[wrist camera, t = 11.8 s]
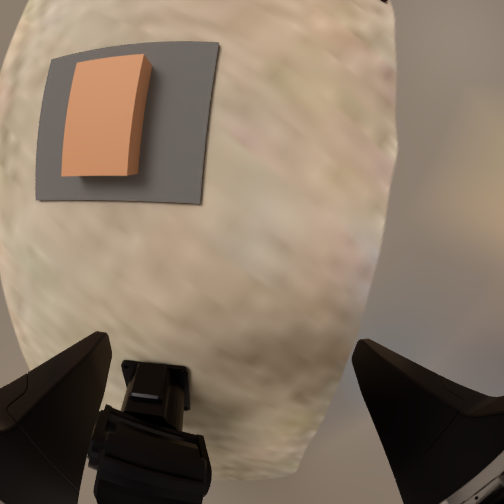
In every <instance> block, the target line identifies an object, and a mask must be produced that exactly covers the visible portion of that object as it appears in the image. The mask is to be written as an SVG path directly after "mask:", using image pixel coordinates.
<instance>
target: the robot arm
mask: <svg viewBox="0 0 504 504" xmlns="http://www.w3.org/2000/svg"><path fill="white" fill-rule="evenodd" d="M111 359H112V350H111V345H110V341H109V336H108V334H107V333H106V332H99V331H96V332H94V333H93V334H91V335H89V336H88V337H86V338H84V339H83V340H81V341H79V342H78V343H76V344H74V345H73V346H71V347H69V348H68V349H66V350H64V351H63V352H61V353H59V354H58V355H56V356H54V357H53V358H51V359H49V360H48V361H46V362H44V363H43V364H41V365H40V366H38V367H36V368H35V369H33V370H31V371H30V372H28V374H25V375H23V376H21V377H20V378H18V379H16V380H15V381H13V382H11V383H10V384H8V385H6V386H4V387H2V388H0V504H77V503H78V497H79V491H80V485H81V480H82V475H83V470H84V466H85V461H86V457H87V454H88V457H87V458H88V459H89V464H88V467H90V468H92V469H94V470H97V475H96V480H95V485H94V496H95V498H96V500H97V503H98V504H202V500H203V497H204V496H205V495H206V494H207V492H208V490H209V487H210V483H211V476H212V471H211V464H210V461H209V457H208V453H207V449H206V445H205V440H204V436H202V435H198V434H197V435H194V434H190V433H186V432H183V431H182V427H183V412H184V411H188V410H190V395H189V378H188V369H187V368H186V367H184V366H172V365H162V364H152V363H143V362H135V361H128V360H124V361H123V362H122V364H121V367H122V371H123V375H124V379H125V383H126V386H127V390H126V394H125V397H124V401H123V404H122V408H121V411H119V410H117V409H114V408H112V406H110V405H107V404H106V406H105V409H104V411H103V410H101V411H99V409H100V406H101V402H102V399H103V396H104V392H105V388H106V382H107V377H108V373H109V368H110V363H111ZM352 364H353V367H354V370H355V374H356V377H357V380H358V384H359V387H360V390H361V393H362V396H363V398H364V401H365V403H366V405H367V408H368V410H369V412H370V415H371V418H372V420H373V423H374V425H375V427H376V430H377V432H378V435H379V437H380V440H381V442H382V445H383V448H384V450H385V453H386V456H387V458H388V461H389V464H390V466H391V469H392V472H393V474H394V477H395V479H396V483H397V486H398V489H399V491H400V495H401V497H402V500H403V503H404V504H441V503H442V502H444V501H445V502H446V503H447V504H504V396H501V397H491V396H487V395H485V394H482V393H479V392H477V391H474V390H472V389H469V388H467V387H464V386H462V385H459V384H457V383H455V382H453V381H451V380H449V379H446V378H444V377H442V376H440V375H438V374H436V373H434V372H432V371H430V370H428V369H426V368H424V367H422V366H421V365H419V364H417V363H415V362H413V361H411V360H409V359H407V358H405V357H403V356H401V355H399V354H397V353H395V352H393V351H391V350H389V349H388V348H386V347H384V346H382V345H380V344H378V343H376V342H374V341H372V340H370V339H360V340H359V341H358V342H357V344H356V347H355V350H354V352H353V355H352ZM126 365H127V366H126ZM181 371H184V372H181Z"/></svg>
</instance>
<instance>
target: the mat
mask: <svg viewBox="0 0 504 504" xmlns="http://www.w3.org/2000/svg"><path fill="white" fill-rule="evenodd" d="M218 47H219V43H218V42H193V41H176V42H151V43H138V44H128V45H120V46H113V47H106V48H100V49H95V50H89V51H84V52H80V53H75V54H71V55H67V56H63V57H59V58H55V59H52V60H51V64H50V68H49V72H48V76H47V81H46V85H45V90H44V95H43V101H42V107H41V114H40V121H39V130H38V140H37V153H36V200H122V201H153V202H175V203H194V204H200V200H201V187H202V175H203V164H204V153H205V143H206V134H207V125H208V117H209V109H210V101H211V93H212V86H213V79H214V72H215V66H216V60H217V53H218ZM136 54H144V55H145V56H146V57H147V59H148V60H149V62H150V63H151V65H152V70H151V75H150V81H149V86H148V92H147V98H146V105H145V112H144V119H143V127H142V136H141V145H140V156H139V169H138V174H133V175H128V176H62V177H61V172H62V153H63V141H64V131H65V123H66V115H67V109H68V102H69V97H70V91H71V86H72V81H73V77H74V72H75V68H76V64H77V63H78V62H83V61H89V60H95V59H101V58H108V57H116V56H125V55H136Z"/></svg>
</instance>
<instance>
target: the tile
mask: <svg viewBox="0 0 504 504" xmlns="http://www.w3.org/2000/svg"><path fill="white" fill-rule="evenodd" d="M151 70H152V65H151V63H150V62H149V60H148V59H147V57H146V56H145V55H144V54H136V55H125V56H116V57H108V58H101V59H95V60H89V61H83V62H78V63H77V64H76V68H75V72H74V77H73V81H72V86H71V91H70V97H69V102H68V109H67V115H66V123H65V131H64V141H63V153H62V172H61V177H62V176H128V175H133V174H138V169H139V156H140V145H141V136H142V127H143V119H144V112H145V105H146V98H147V92H148V86H149V81H150V75H151Z"/></svg>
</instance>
